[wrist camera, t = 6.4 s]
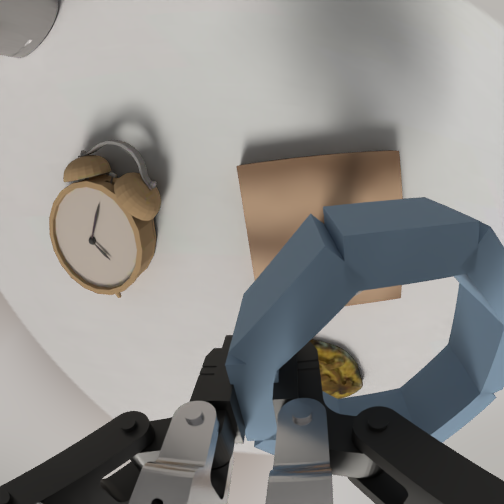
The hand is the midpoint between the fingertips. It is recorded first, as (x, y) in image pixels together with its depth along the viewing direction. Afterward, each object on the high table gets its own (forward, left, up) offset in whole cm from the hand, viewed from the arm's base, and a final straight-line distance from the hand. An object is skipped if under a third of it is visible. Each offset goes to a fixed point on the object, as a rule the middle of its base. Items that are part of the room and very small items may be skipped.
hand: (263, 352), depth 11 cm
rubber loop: (0, +5, -1) cm, 5 cm away
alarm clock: (-4, -15, -16) cm, 23 cm away
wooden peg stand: (0, +4, -16) cm, 17 cm away
